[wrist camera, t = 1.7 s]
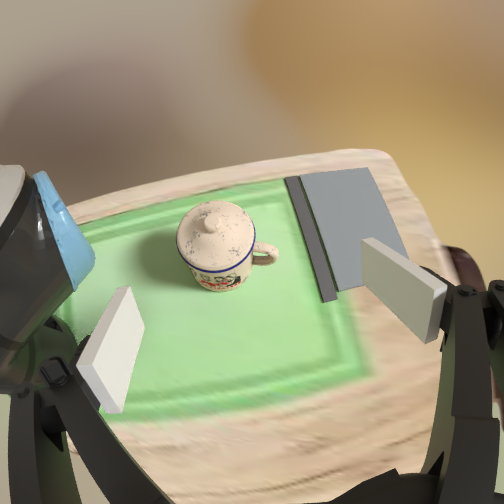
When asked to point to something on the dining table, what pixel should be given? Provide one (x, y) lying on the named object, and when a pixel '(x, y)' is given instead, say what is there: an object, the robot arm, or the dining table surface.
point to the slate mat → (349, 219)
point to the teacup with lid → (221, 245)
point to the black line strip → (312, 240)
